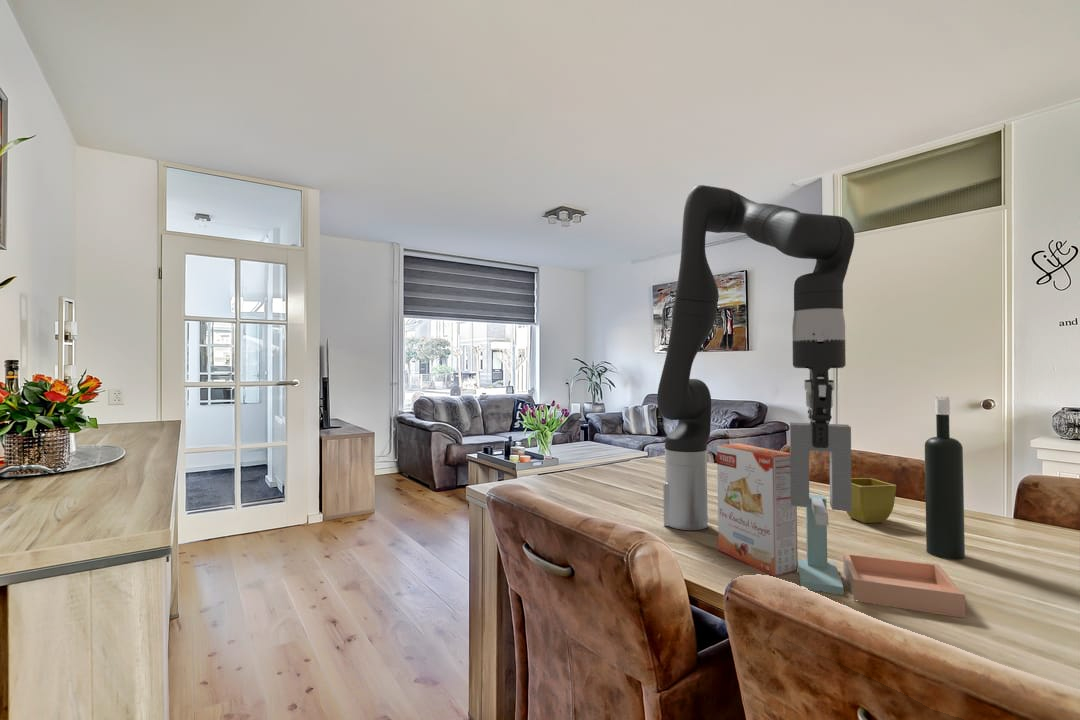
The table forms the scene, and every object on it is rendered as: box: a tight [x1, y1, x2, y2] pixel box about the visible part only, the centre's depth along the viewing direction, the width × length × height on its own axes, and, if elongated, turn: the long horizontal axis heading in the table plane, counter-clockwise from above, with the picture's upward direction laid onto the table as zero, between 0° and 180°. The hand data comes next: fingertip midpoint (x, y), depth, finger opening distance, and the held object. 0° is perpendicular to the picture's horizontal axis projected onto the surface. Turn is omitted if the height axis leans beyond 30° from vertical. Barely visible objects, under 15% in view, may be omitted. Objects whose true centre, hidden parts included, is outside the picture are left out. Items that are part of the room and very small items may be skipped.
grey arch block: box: [789, 422, 852, 512], centre depth 84 cm, size 8×4×13 cm, turn 66°
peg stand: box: [797, 493, 845, 596], centre depth 86 cm, size 6×14×13 cm, turn 156°
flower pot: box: [845, 477, 897, 524], centre depth 121 cm, size 9×9×9 cm
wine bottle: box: [924, 396, 966, 561], centre depth 99 cm, size 6×6×30 cm
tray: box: [842, 552, 966, 619], centre depth 82 cm, size 14×13×3 cm
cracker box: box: [716, 442, 799, 577], centre depth 96 cm, size 14×6×21 cm, turn 22°
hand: (819, 445), depth 84 cm, fingers closed on grey arch block, 3 cm apart
